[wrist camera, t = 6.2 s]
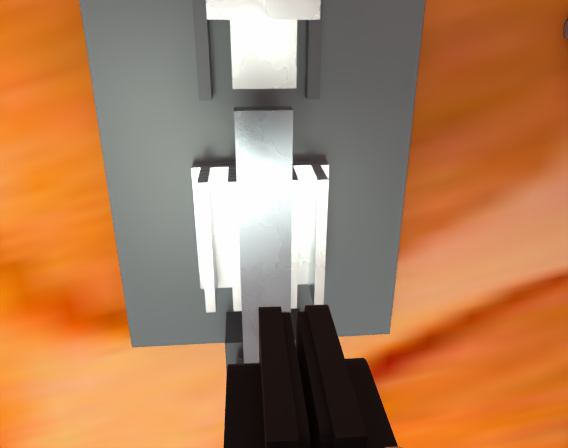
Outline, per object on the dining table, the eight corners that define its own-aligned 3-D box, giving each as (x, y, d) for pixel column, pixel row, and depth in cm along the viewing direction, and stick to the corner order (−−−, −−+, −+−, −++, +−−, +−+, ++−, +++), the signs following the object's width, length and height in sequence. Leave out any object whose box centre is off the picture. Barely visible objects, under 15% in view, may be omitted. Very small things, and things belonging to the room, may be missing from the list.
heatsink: (321, 274, 28) (331, 306, 25) (201, 279, 28) (197, 312, 25) (326, 159, 26) (338, 179, 23) (193, 162, 25) (186, 183, 22)
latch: (299, 72, 24) (317, 88, 18) (217, 72, 23) (211, 89, 18) (301, -55, 21) (322, -79, 16) (210, -57, 21) (201, -81, 16)
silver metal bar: (294, 372, 27) (298, 392, 26) (237, 375, 27) (237, 396, 25) (299, 104, 21) (304, 112, 19) (224, 105, 21) (223, 113, 19)
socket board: (382, 322, 32) (404, 368, 28) (137, 335, 31) (121, 384, 27) (421, -63, 23) (460, -80, 19) (78, -68, 22) (41, -88, 18)
